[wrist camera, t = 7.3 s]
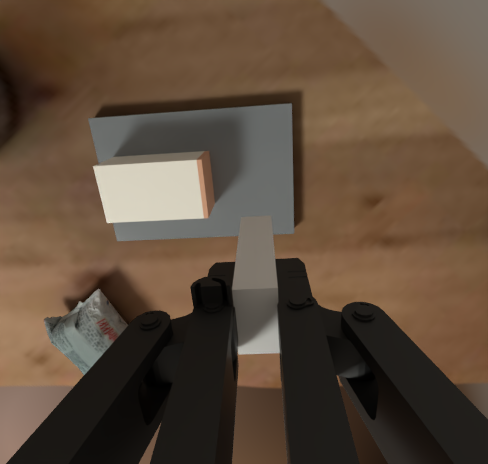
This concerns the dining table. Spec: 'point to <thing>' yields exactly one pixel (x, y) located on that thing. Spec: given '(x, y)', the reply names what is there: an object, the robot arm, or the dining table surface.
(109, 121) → the board
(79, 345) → the packaged food
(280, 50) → the dining table surface
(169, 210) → the block
